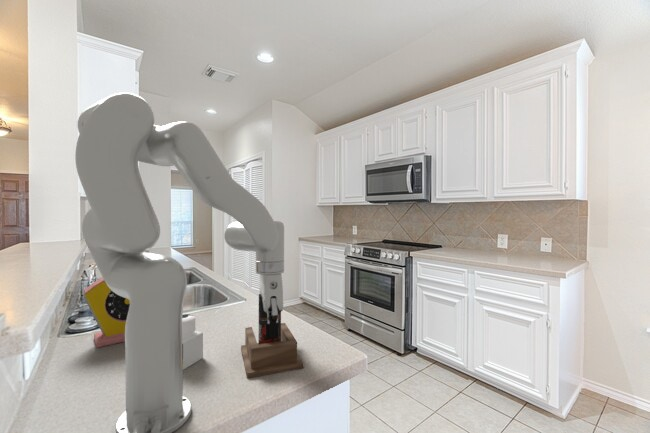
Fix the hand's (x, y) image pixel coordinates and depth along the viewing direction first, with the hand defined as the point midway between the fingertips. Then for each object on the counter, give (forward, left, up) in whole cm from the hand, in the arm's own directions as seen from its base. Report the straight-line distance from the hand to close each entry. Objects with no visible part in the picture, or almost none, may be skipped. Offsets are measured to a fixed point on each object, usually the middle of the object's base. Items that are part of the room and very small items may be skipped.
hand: (269, 332), depth 83 cm
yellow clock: (+30, +40, -7) cm, 50 cm away
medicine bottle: (+6, +22, -7) cm, 24 cm away
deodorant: (0, 0, -5) cm, 5 cm away
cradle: (0, 0, -7) cm, 7 cm away
